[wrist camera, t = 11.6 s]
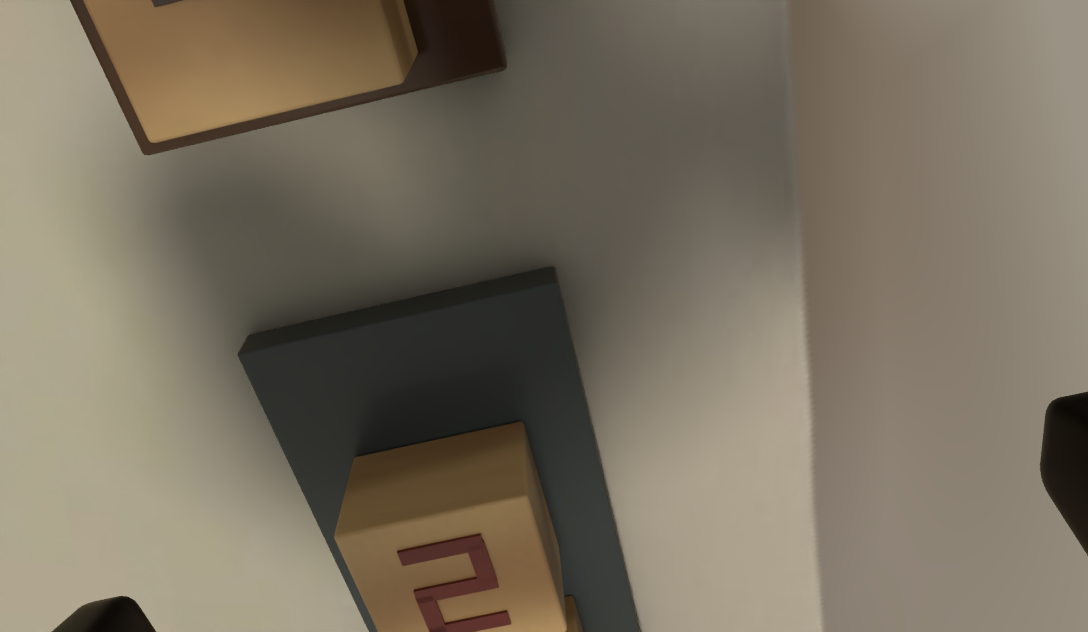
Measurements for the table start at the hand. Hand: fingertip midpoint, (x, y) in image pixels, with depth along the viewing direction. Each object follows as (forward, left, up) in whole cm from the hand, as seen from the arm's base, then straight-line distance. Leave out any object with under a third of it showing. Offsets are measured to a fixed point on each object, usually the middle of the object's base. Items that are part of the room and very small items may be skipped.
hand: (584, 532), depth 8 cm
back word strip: (-6, +13, -12) cm, 18 cm away
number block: (-3, +9, -11) cm, 14 cm away
